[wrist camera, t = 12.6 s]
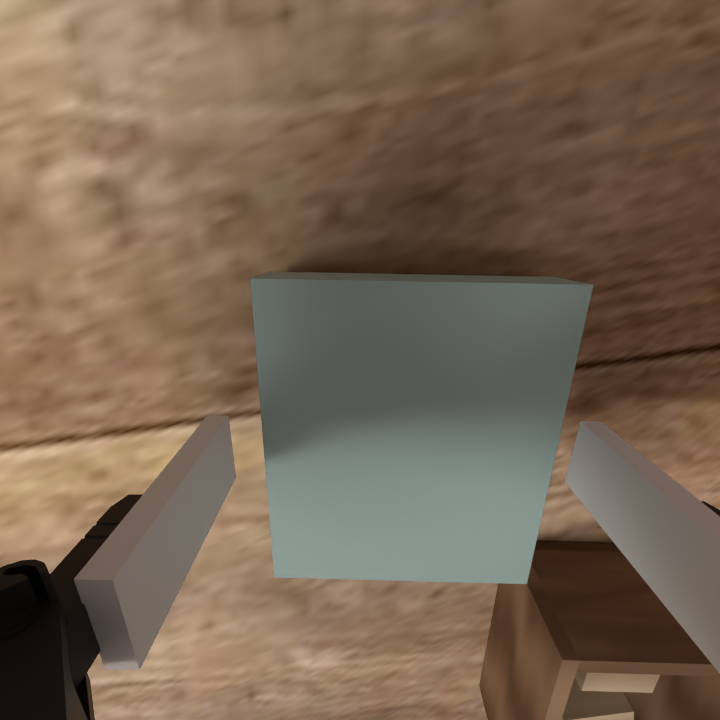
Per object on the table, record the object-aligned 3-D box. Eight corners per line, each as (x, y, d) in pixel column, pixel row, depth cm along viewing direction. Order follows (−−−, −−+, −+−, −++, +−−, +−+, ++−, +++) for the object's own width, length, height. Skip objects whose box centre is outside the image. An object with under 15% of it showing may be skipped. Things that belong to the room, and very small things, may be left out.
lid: (276, 269, 16) (250, 278, 12) (540, 274, 16) (593, 284, 12) (290, 516, 20) (274, 577, 16) (497, 521, 20) (526, 584, 16)
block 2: (559, 574, 20) (597, 641, 17) (622, 576, 20) (673, 643, 17) (547, 619, 21) (581, 690, 18) (607, 621, 21) (652, 692, 18)
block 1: (533, 647, 22) (563, 720, 19) (592, 639, 22) (633, 711, 18) (538, 684, 23) (568, 759, 20) (595, 676, 23) (634, 751, 19)
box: (506, 540, 20) (562, 660, 14) (676, 544, 20) (800, 666, 14) (479, 685, 24) (514, 824, 18) (620, 689, 24) (700, 830, 18)
